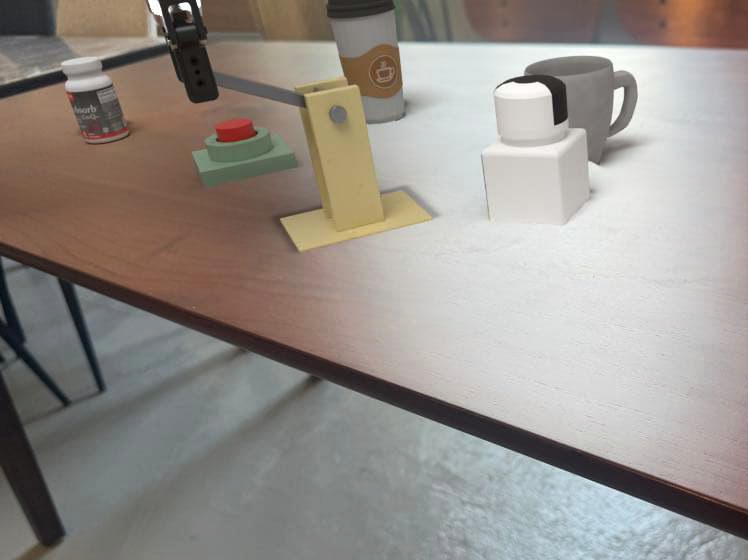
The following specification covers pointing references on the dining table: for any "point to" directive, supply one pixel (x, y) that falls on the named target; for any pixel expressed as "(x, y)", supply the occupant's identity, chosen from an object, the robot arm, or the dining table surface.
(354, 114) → the lever bracket
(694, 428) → the dining table surface
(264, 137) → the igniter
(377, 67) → the coffee cup
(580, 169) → the medicine bottle
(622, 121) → the mug
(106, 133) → the pill bottle
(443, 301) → the dining table surface
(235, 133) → the button
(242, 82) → the lever
